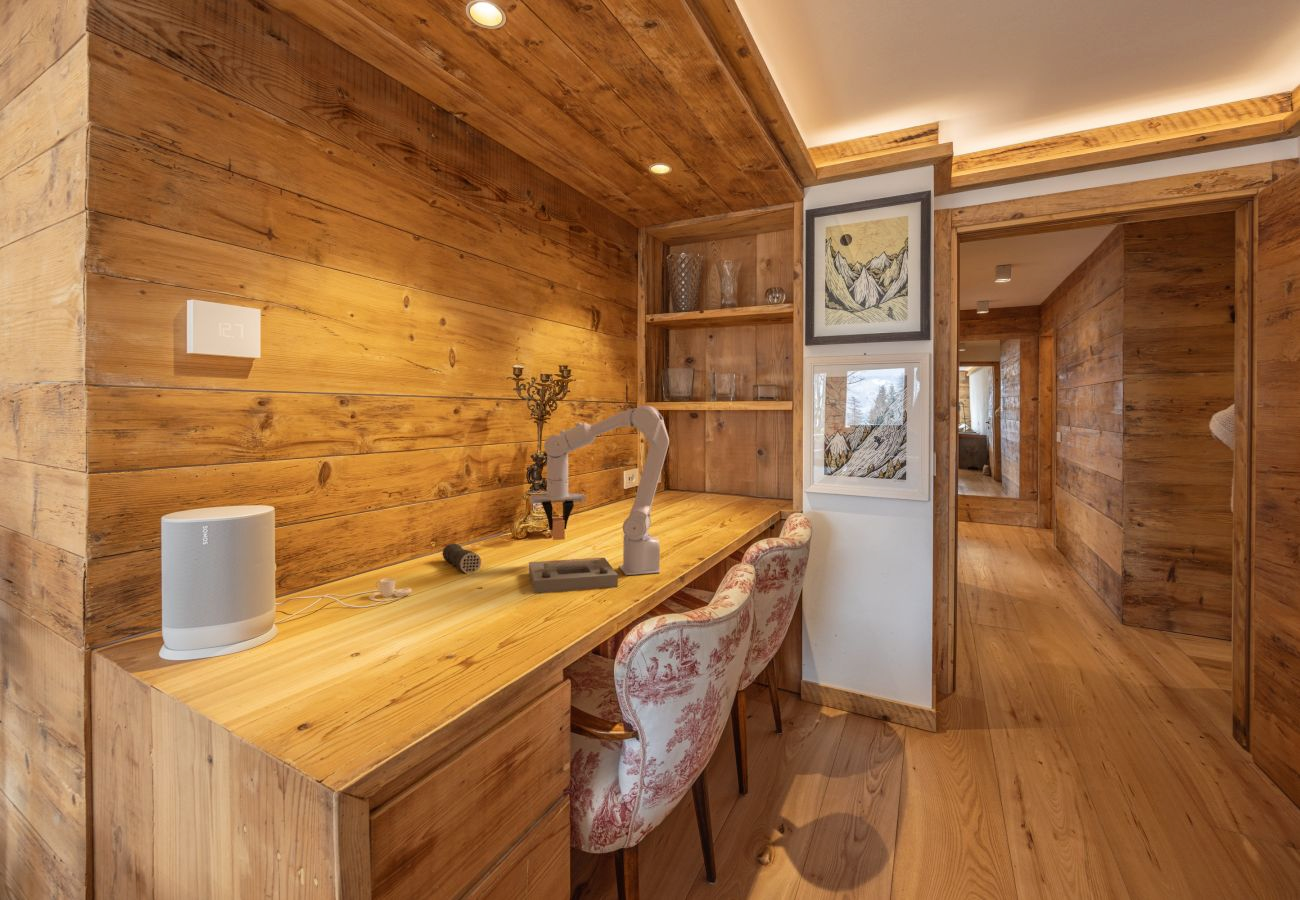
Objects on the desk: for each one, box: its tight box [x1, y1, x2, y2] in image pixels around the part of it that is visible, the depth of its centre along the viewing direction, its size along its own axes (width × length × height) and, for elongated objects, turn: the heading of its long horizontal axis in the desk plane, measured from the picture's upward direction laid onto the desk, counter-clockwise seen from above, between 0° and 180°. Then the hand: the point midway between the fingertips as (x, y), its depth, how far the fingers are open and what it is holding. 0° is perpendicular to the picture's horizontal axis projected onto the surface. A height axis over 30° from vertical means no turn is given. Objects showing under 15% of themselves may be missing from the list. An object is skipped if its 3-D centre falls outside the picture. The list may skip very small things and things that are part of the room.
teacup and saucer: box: [368, 577, 412, 602], centre depth 130 cm, size 9×8×4 cm
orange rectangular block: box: [550, 516, 566, 541], centre depth 154 cm, size 3×6×5 cm, turn 16°
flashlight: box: [442, 542, 482, 575], centre depth 154 cm, size 15×5×5 cm, turn 39°
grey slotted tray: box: [528, 557, 619, 594], centre depth 143 cm, size 20×16×5 cm
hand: (557, 528), depth 154 cm, fingers closed on orange rectangular block, 3 cm apart
